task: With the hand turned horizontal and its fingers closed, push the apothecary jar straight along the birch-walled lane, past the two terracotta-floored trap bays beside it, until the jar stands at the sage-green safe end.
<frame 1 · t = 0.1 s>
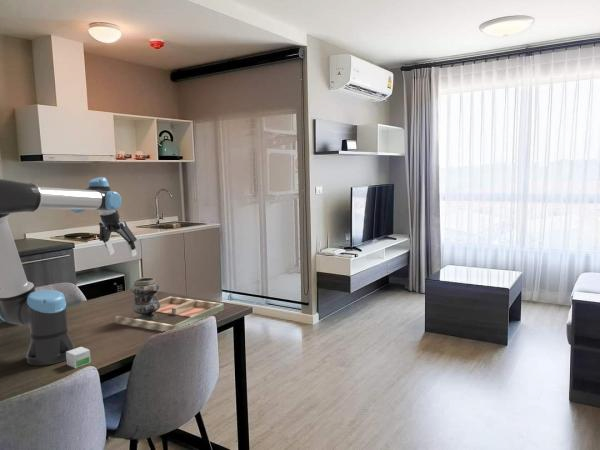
hand: (123, 254, 211), 28 cm above the table, tool tilted 20°, fingers open, 13 cm apart
plastic cup: (36, 319, 209), on the table
apothecary jar: (147, 319, 207), on the table
trap box: (159, 320, 204), on the table
small box: (79, 364, 159), on the table
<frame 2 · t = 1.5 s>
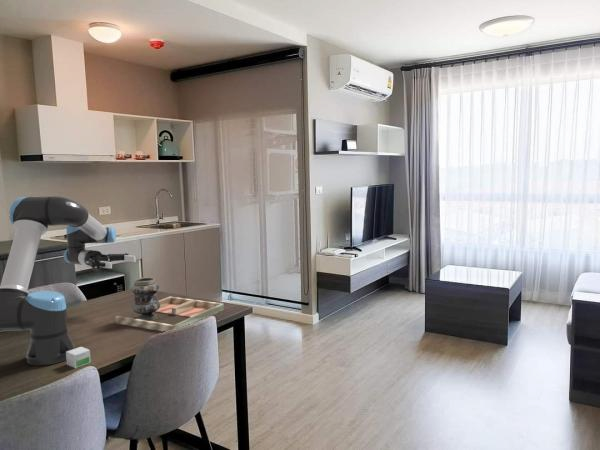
hand: (123, 262, 209), 25 cm above the table, tool horizontal, fingers open, 13 cm apart
nothing on the table moved.
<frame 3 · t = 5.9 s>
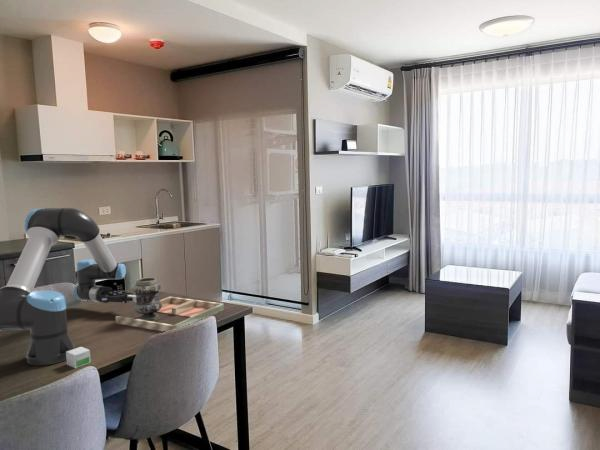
hand: (139, 299, 209), 8 cm above the table, tool horizontal, fingers closed
apothecary jar: (148, 319, 206), on the table, touching gripper
everything else where it was.
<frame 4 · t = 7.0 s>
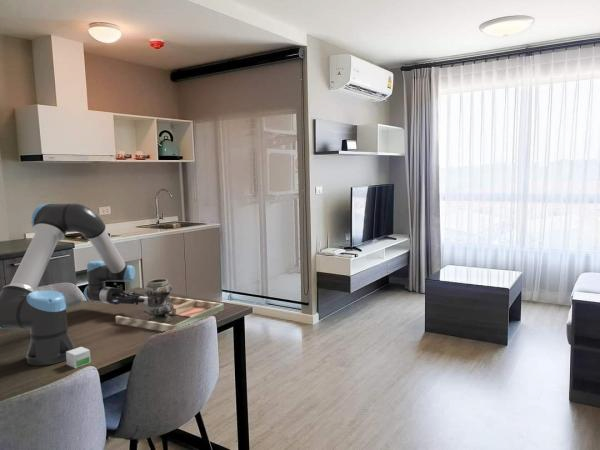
hand: (150, 301, 206), 8 cm above the table, tool horizontal, fingers closed
apothecary jar: (160, 320, 204), on the table
everything else where it was.
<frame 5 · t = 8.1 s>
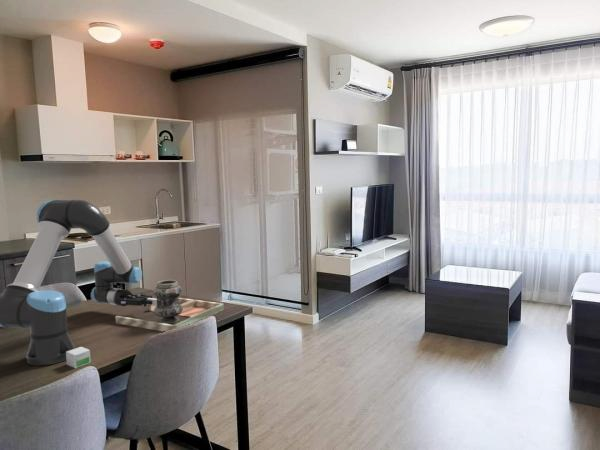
hand: (159, 302, 203), 8 cm above the table, tool horizontal, fingers closed
apothecary jar: (169, 322, 201), on the table, touching gripper
everything else where it was.
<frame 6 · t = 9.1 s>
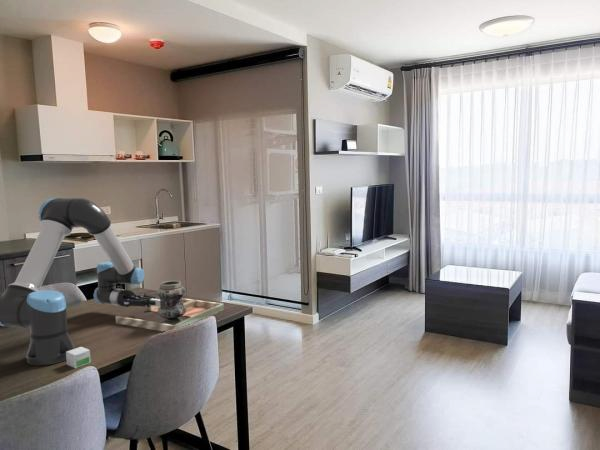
hand: (162, 303, 202), 8 cm above the table, tool horizontal, fingers closed
apothecary jar: (172, 323, 199), on the table, touching gripper
everything else where it was.
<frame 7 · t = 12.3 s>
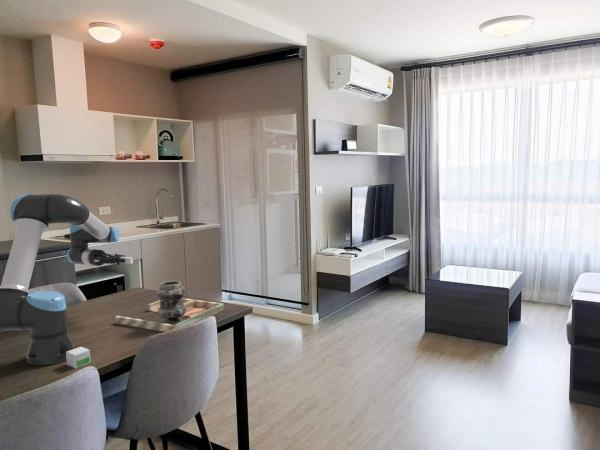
hand: (131, 260, 207), 26 cm above the table, tool horizontal, fingers closed
apothecary jar: (172, 323, 199), on the table
everything else where it was.
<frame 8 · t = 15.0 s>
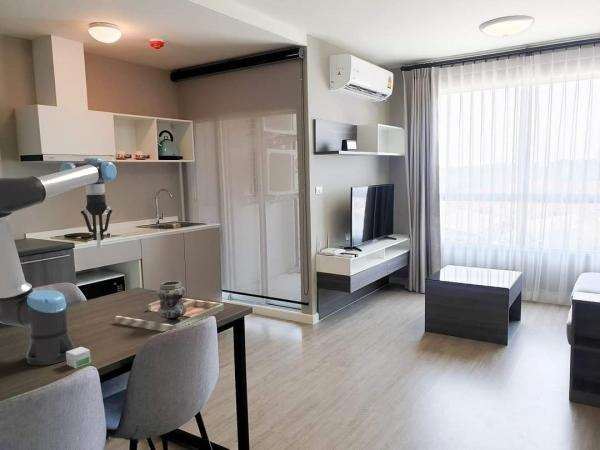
hand: (99, 247, 203), 32 cm above the table, tool pointing down, fingers closed
nothing on the table moved.
at the end: apothecary jar inside the target area on the trap box (0.6 cm from its centre), point 0.0 cm above the trap box's base; apothecary jar tilted 0°; apothecary jar moved 15.4 cm from its start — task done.
